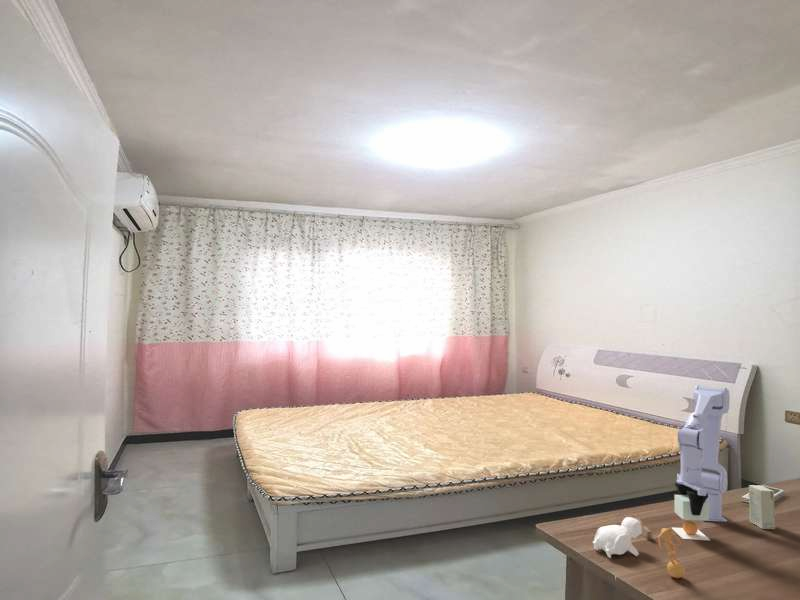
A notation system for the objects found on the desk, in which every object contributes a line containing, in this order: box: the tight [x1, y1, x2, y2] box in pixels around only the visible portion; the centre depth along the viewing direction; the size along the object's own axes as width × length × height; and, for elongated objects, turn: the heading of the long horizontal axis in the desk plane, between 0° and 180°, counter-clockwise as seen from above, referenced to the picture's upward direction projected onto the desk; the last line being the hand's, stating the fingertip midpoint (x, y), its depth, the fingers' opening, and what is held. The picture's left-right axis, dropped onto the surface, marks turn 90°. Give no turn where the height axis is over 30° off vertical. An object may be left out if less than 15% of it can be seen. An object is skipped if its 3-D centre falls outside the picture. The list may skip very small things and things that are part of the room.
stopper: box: [632, 515, 653, 541], centre depth 159 cm, size 12×1×2 cm, turn 175°
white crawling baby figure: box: [592, 516, 642, 559], centre depth 146 cm, size 9×8×15 cm
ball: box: [682, 520, 699, 535], centre depth 157 cm, size 4×4×4 cm
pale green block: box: [674, 494, 710, 522], centre depth 157 cm, size 6×8×6 cm
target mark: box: [670, 527, 711, 541], centre depth 157 cm, size 8×8×1 cm
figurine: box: [657, 527, 685, 579], centre depth 132 cm, size 8×6×12 cm
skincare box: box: [748, 484, 776, 530], centre depth 165 cm, size 6×4×12 cm
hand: (690, 510), depth 157 cm, fingers closed on pale green block, 6 cm apart
